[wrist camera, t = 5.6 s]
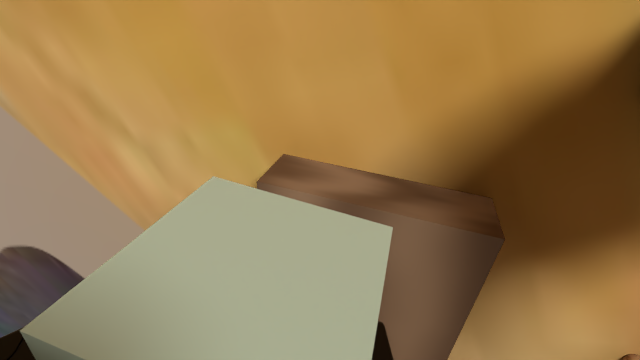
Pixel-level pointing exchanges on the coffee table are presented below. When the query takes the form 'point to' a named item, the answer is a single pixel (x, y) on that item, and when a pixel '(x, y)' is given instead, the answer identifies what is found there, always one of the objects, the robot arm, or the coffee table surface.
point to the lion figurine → (631, 357)
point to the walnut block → (408, 246)
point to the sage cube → (228, 286)
